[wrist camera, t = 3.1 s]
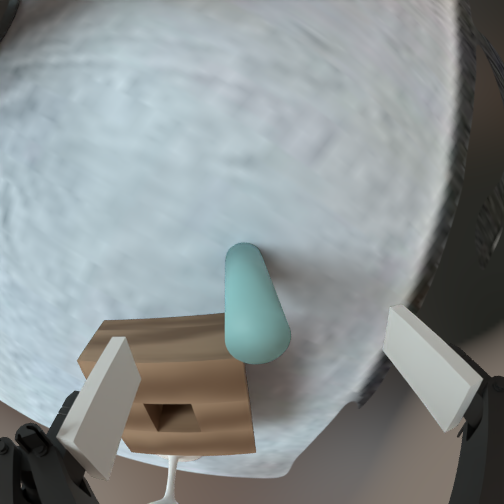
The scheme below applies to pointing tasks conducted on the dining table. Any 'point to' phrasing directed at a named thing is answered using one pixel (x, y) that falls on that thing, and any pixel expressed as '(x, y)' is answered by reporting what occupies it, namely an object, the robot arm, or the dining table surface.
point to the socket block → (181, 386)
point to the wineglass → (172, 477)
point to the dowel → (252, 308)
